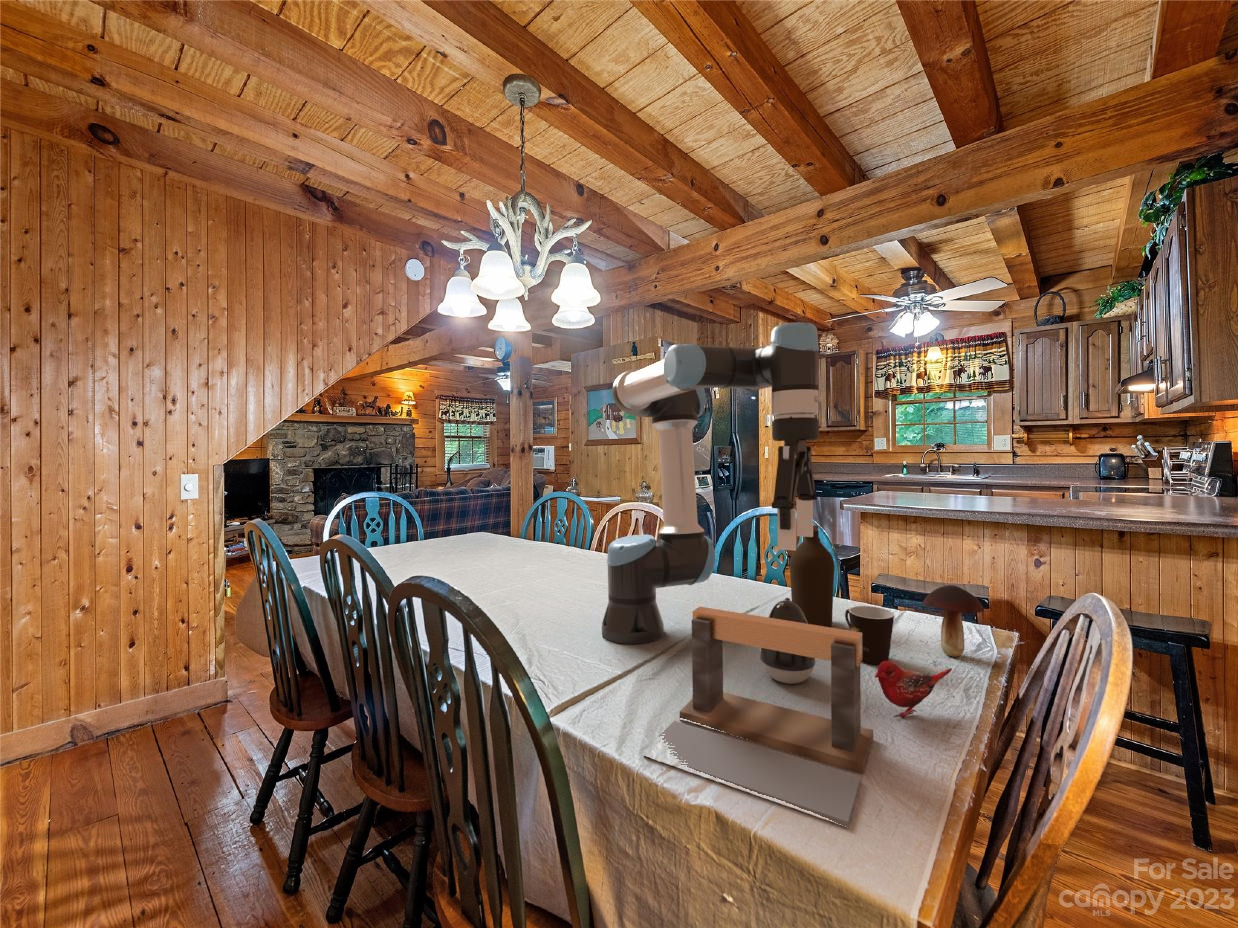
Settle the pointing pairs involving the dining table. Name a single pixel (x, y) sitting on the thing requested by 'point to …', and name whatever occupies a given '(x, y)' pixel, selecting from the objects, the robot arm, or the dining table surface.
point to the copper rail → (778, 634)
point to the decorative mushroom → (953, 615)
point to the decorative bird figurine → (905, 685)
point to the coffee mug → (872, 631)
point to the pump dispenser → (783, 663)
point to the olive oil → (813, 580)
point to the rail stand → (781, 708)
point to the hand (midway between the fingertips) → (796, 542)
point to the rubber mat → (766, 771)
